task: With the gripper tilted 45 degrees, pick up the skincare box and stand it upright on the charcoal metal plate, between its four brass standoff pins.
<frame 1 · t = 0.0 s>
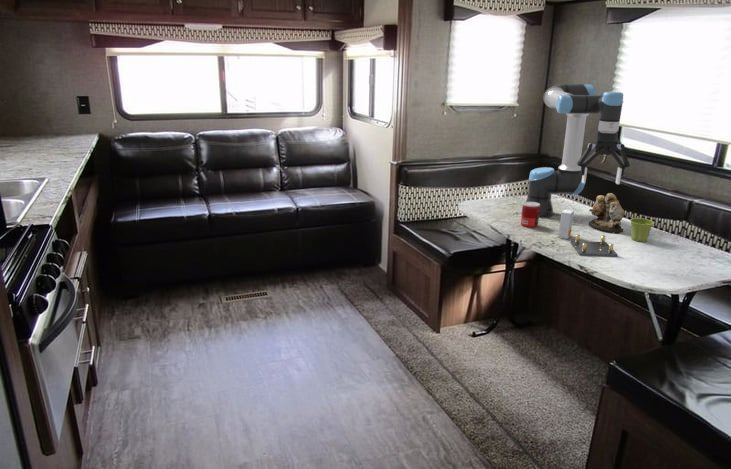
hand: (600, 183, 222), 28 cm above the table, tool pointing down, fingers open, 13 cm apart
skincare box: (564, 237, 243), on the table
owl figurine: (604, 228, 255), on the table
standoff chassis: (592, 249, 227), on the table
plant pot: (638, 240, 239), on the table
canned food: (529, 225, 259), on the table
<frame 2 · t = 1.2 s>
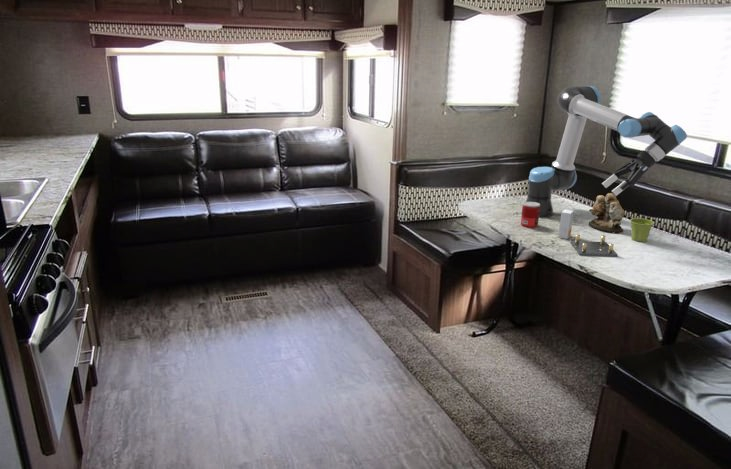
hand: (608, 189, 234), 22 cm above the table, tool tilted 45°, fingers open, 13 cm apart
nothing on the table moved.
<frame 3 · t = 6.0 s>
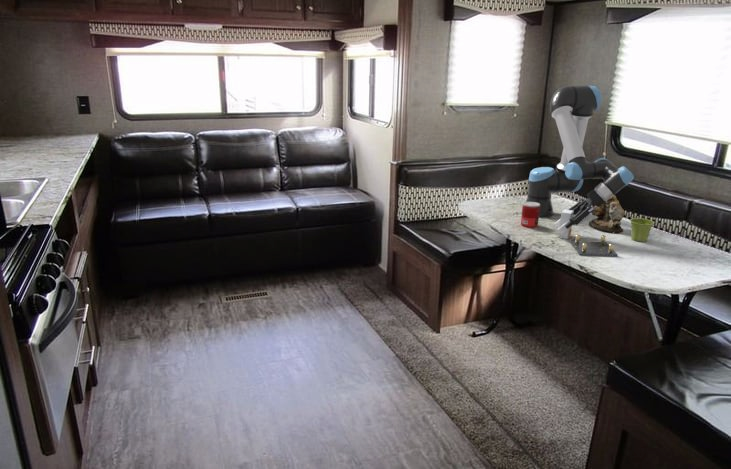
hand: (557, 229, 242), 4 cm above the table, tool tilted 45°, fingers closed on skincare box, 7 cm apart
skincare box: (564, 237, 243), on the table, touching gripper
everything else where it was.
when the fingers open (5 cm above the table, at t = 11.6 s): skincare box stays where it is, resting on standoff chassis.
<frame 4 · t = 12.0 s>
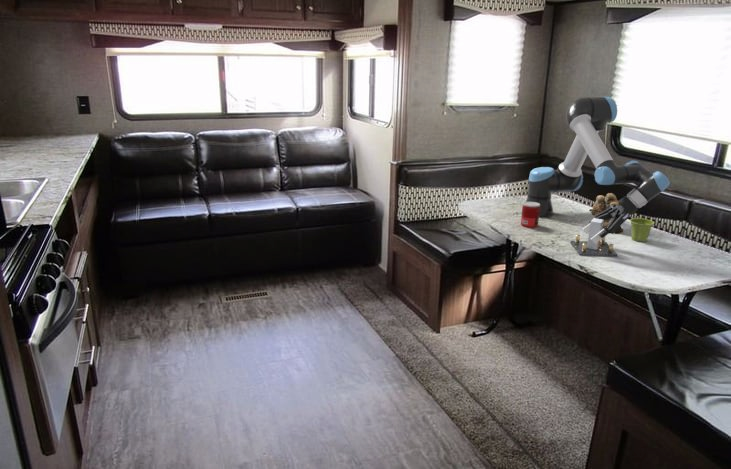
hand: (588, 236, 226), 6 cm above the table, tool tilted 45°, fingers open, 12 cm apart
skincare box: (593, 247, 227), point 1 cm above the table, touching standoff chassis
everything else where it was.
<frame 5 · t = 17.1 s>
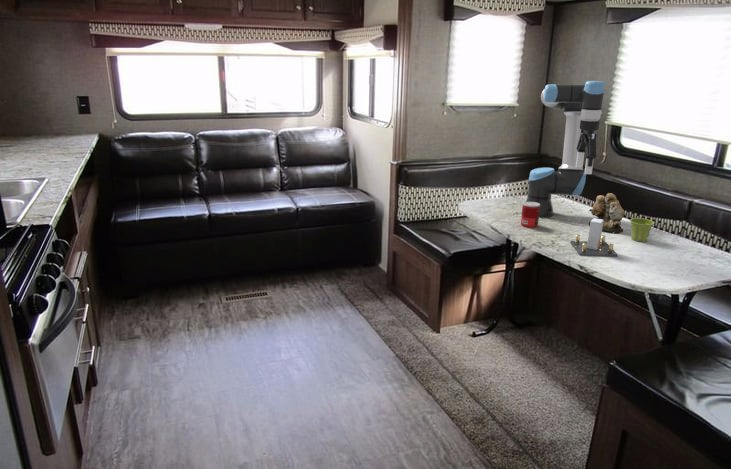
hand: (583, 170, 228), 32 cm above the table, tool pointing down, fingers open, 13 cm apart
nothing on the table moved.
at the end: skincare box 0.2 cm off-centre on the standoff chassis, point 0.8 cm above the standoff chassis's base; skincare box tilted 0°; the gripper is holding nothing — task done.
